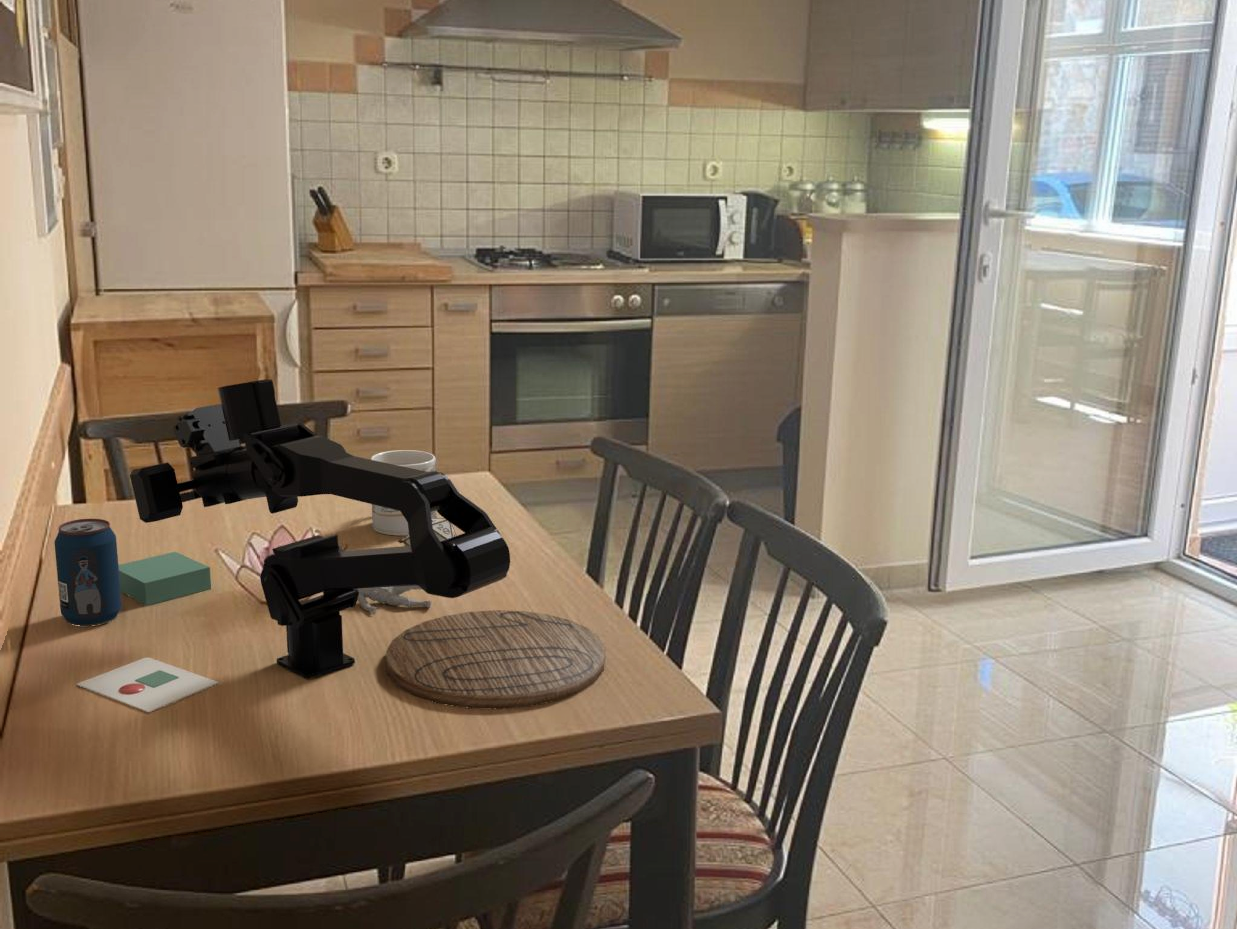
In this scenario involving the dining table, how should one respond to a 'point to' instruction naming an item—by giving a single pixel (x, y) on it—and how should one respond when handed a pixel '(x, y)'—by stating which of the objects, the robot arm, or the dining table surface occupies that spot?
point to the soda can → (88, 572)
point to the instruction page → (147, 684)
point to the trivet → (495, 659)
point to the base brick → (163, 578)
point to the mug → (389, 518)
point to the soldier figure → (388, 597)
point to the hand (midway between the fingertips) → (169, 486)
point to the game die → (437, 530)
